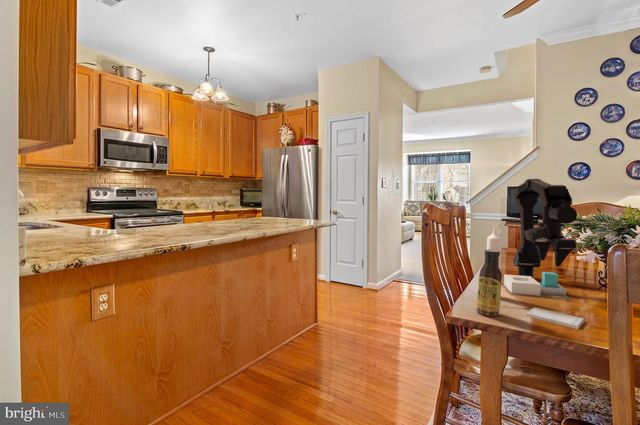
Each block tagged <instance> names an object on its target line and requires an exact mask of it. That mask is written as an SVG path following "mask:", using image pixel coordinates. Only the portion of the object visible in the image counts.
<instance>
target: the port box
mask: <svg viewBox="0 0 640 425" xmlns="http://www.w3.org/2000/svg"><path fill="white" fill-rule="evenodd" d="M503 283H504V285H505V286H506V287H507V289H508V290H509V291H510V292H511V293H515V294H526V295H538V296H540V292H541V284H539V283H538V281H537V280H536V279H535V278H534V279H533V278H532V277H531V276H519V275H518V274H517V275H514V274H504V276H503ZM507 289H506V290H507ZM508 290H507V291H508Z"/></svg>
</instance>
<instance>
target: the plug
mask: <svg viewBox="0 0 640 425" xmlns="http://www.w3.org/2000/svg"><path fill="white" fill-rule="evenodd" d="M558 281H559V274H558V273H557V272H552V271H551V272H549V271H542V272H541V283H542V286H545V287H558V284H559V282H558Z"/></svg>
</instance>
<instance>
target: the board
mask: <svg viewBox="0 0 640 425" xmlns="http://www.w3.org/2000/svg"><path fill="white" fill-rule="evenodd" d="M501 285H503V287H504V288H505V289H506V290H507V292H508V293H509V294H510V295H511V296H520V297H531V298H543V299H554V300H565V301H573V298H571V297H570V296H568V295H567V294H566V296H561V295H549V294H540V296H538V295H526V294H515V293H511V292H510V291H509V290H508V289H507V287H506V286H505V285H504V282H502V284H501Z"/></svg>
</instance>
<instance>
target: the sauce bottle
mask: <svg viewBox="0 0 640 425" xmlns="http://www.w3.org/2000/svg"><path fill="white" fill-rule="evenodd" d="M499 256H500V251H498V250H492V249H487V248H485V250H484V262H483V265H482V267H481V268H480V270H479V276H478V286H477V300H476V312H478V313H479V314H480V315H482V316H485V317H486V316H487V317H496V316H497V317H498V316H499V312H500V309H501V293H502V285H503V284H502V283H503V282H502V280H503V278H502V277H503V273H502V270H501V271H500V269H499V267H498V265H499V263H498V261H499Z"/></svg>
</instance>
